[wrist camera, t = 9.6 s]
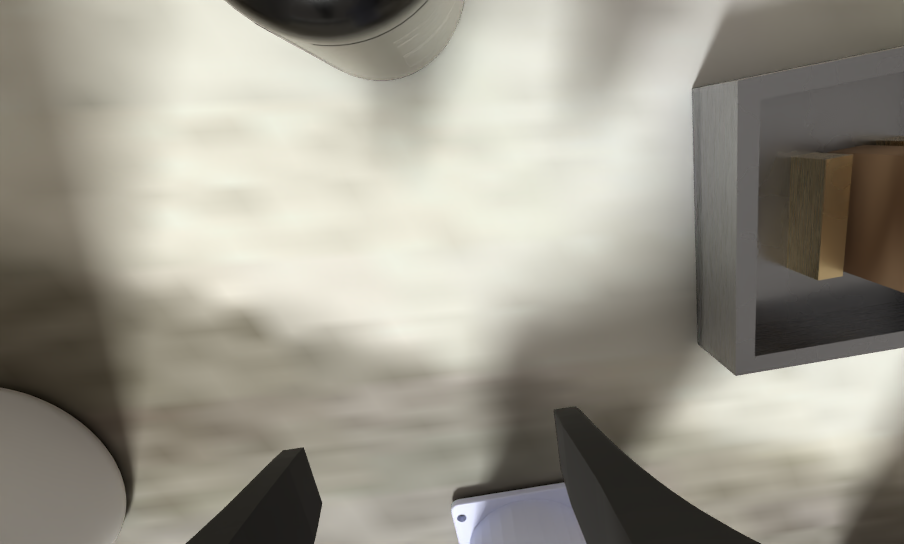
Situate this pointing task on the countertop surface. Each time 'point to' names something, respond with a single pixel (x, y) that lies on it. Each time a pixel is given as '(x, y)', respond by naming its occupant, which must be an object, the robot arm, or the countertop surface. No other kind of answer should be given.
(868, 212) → the tan wooden brick
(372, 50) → the supplement bottle
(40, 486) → the cylinder vase
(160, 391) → the countertop surface
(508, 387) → the countertop surface
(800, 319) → the square metal tray
